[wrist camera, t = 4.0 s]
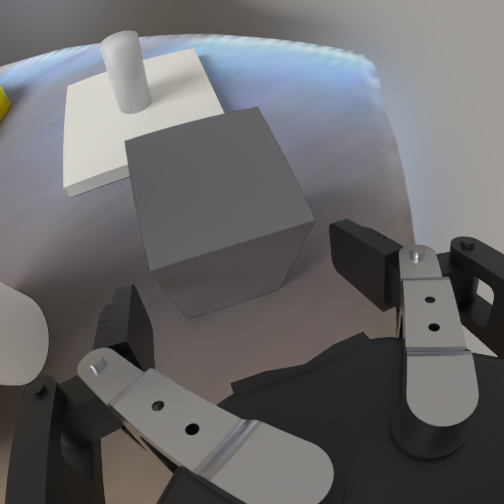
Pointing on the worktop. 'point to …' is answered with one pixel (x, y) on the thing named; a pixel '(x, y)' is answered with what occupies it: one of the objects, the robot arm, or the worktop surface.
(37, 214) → the worktop surface
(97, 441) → the robot arm
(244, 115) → the tall grey pillar
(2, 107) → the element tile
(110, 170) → the stud plate
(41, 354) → the cylindrical container
